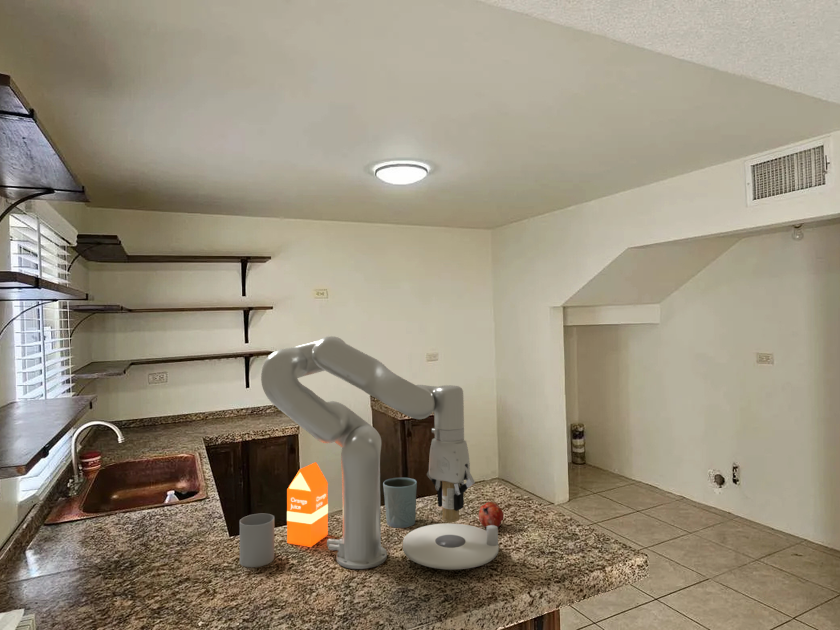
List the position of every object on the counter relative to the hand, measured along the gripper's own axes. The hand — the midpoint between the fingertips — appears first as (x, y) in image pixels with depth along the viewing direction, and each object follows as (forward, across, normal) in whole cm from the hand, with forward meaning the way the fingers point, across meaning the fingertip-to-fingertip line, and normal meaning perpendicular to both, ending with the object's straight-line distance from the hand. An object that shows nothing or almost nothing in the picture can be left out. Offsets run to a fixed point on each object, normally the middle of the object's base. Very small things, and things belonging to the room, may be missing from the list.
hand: (450, 506), depth 129 cm
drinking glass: (+13, -25, +10) cm, 30 cm away
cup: (+12, -38, -31) cm, 51 cm away
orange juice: (+12, -38, -15) cm, 43 cm away
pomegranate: (+13, -2, +23) cm, 26 cm away
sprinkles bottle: (+4, 0, 0) cm, 4 cm away
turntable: (+13, 0, 0) cm, 13 cm away
